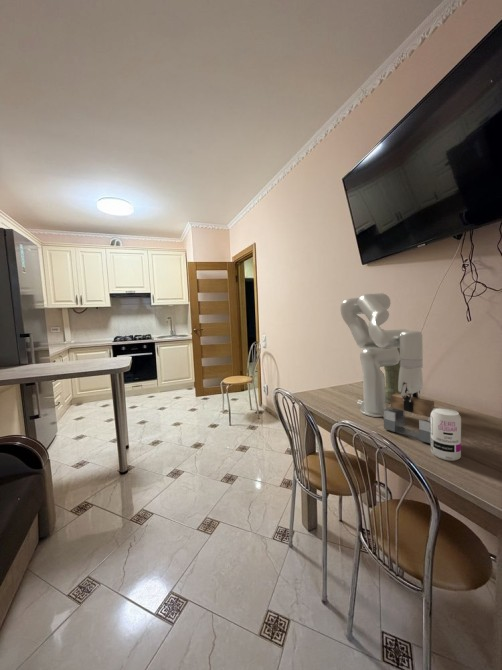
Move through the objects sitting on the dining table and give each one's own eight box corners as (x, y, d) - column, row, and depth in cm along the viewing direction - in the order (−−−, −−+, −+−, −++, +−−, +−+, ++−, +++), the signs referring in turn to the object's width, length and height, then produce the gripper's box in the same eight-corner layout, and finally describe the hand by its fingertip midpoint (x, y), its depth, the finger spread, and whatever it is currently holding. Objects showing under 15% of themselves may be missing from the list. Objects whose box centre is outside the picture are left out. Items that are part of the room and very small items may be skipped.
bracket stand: (382, 429, 111) (382, 409, 110) (392, 424, 115) (392, 405, 114) (434, 447, 95) (434, 423, 94) (444, 440, 99) (444, 417, 99)
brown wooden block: (390, 407, 109) (390, 395, 108) (396, 405, 111) (395, 393, 111) (429, 417, 97) (429, 403, 97) (434, 414, 100) (434, 401, 99)
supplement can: (447, 448, 94) (447, 406, 93) (467, 460, 86) (467, 415, 85) (425, 449, 94) (424, 407, 92) (442, 462, 85) (442, 417, 84)
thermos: (378, 400, 146) (377, 336, 143) (400, 399, 146) (400, 334, 143) (386, 405, 137) (385, 337, 134) (410, 404, 137) (409, 336, 134)
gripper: (411, 359, 111) (411, 402, 112) (389, 365, 101) (390, 412, 103) (431, 361, 104) (431, 406, 106) (410, 367, 95) (411, 418, 96)
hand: (411, 409), depth 104 cm, fingers closed on brown wooden block, 4 cm apart
